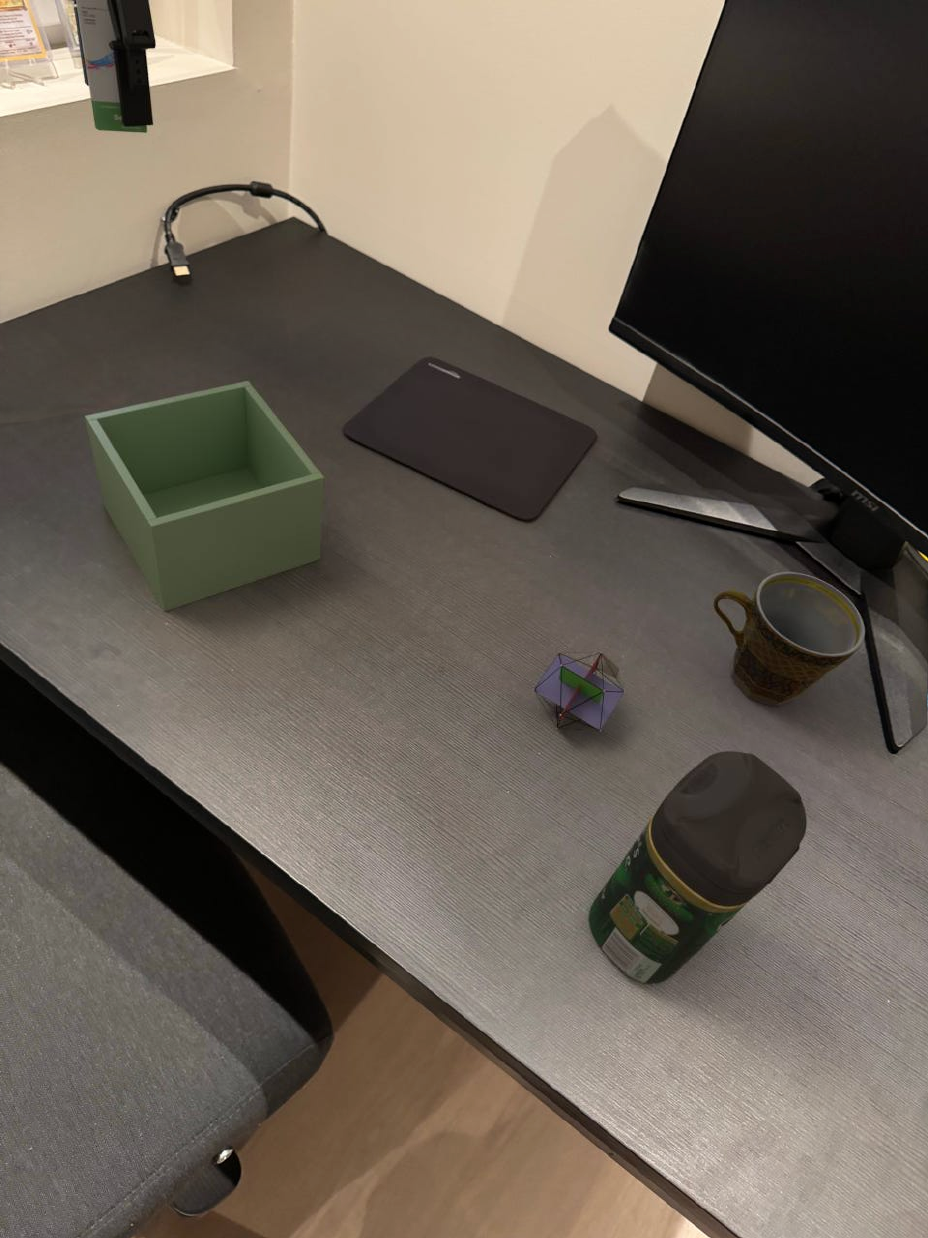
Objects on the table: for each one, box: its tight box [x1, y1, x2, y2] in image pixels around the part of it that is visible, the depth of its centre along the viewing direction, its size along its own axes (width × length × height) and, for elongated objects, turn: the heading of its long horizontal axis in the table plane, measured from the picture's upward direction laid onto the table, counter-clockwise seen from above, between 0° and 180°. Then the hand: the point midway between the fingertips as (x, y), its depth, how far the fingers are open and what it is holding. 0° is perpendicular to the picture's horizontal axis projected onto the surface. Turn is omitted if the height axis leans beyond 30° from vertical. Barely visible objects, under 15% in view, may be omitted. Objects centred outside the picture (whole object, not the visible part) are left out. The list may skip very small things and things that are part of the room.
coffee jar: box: [588, 750, 808, 985], centre depth 57 cm, size 10×8×19 cm
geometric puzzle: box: [532, 651, 626, 732], centre depth 73 cm, size 7×7×8 cm
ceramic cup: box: [713, 571, 866, 708], centre depth 79 cm, size 13×10×10 cm
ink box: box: [75, 0, 148, 134], centre depth 80 cm, size 8×5×12 cm, turn 16°
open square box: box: [84, 380, 325, 612], centre depth 79 cm, size 16×16×10 cm
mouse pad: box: [342, 356, 597, 521], centre depth 100 cm, size 25×21×1 cm
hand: (118, 103), depth 83 cm, fingers closed on ink box, 9 cm apart
